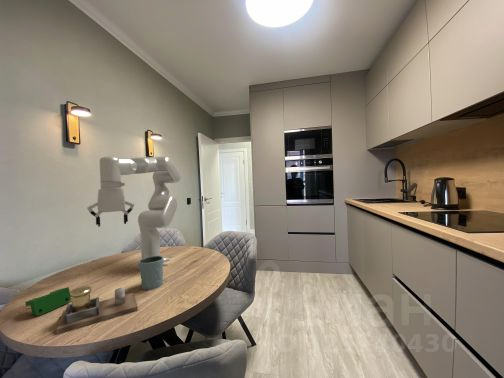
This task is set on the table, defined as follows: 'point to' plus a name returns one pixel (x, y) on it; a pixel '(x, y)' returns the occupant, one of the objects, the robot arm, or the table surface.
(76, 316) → the fitting board
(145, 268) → the grey-green cup
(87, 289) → the brass door knob
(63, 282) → the table surface
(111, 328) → the table surface
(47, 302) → the clamp
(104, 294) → the table surface
